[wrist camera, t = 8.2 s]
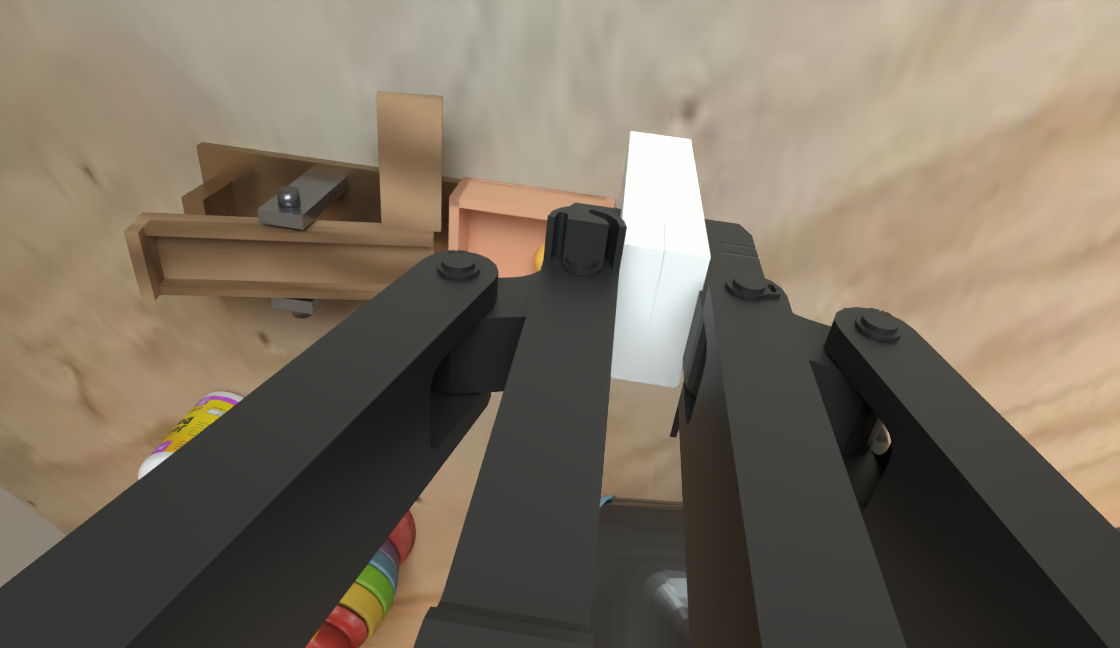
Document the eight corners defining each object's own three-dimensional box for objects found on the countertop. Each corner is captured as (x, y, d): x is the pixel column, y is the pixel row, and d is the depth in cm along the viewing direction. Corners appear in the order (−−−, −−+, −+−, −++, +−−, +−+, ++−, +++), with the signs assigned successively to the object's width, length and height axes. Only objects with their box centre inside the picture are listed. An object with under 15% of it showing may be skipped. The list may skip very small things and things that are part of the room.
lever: (440, 286, 50) (439, 307, 48) (159, 278, 47) (142, 300, 45) (442, 96, 43) (441, 109, 40) (107, 71, 40) (84, 83, 37)
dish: (597, 307, 54) (594, 333, 51) (459, 286, 55) (447, 311, 51) (615, 198, 49) (612, 220, 46) (463, 177, 50) (449, 196, 46)
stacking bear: (409, 501, 69) (342, 665, 54) (426, 565, 74) (370, 732, 59) (311, 497, 71) (219, 656, 56) (334, 561, 76) (256, 722, 61)
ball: (564, 294, 49) (525, 283, 50) (580, 277, 52) (542, 266, 53) (569, 256, 48) (528, 244, 48) (585, 240, 50) (546, 229, 51)
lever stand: (458, 287, 55) (430, 344, 48) (222, 252, 56) (160, 302, 49) (461, 175, 50) (430, 220, 43) (201, 138, 51) (128, 176, 43)
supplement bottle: (215, 376, 63) (124, 473, 52) (277, 413, 65) (202, 515, 54) (191, 417, 66) (101, 516, 56) (251, 451, 68) (176, 554, 57)
